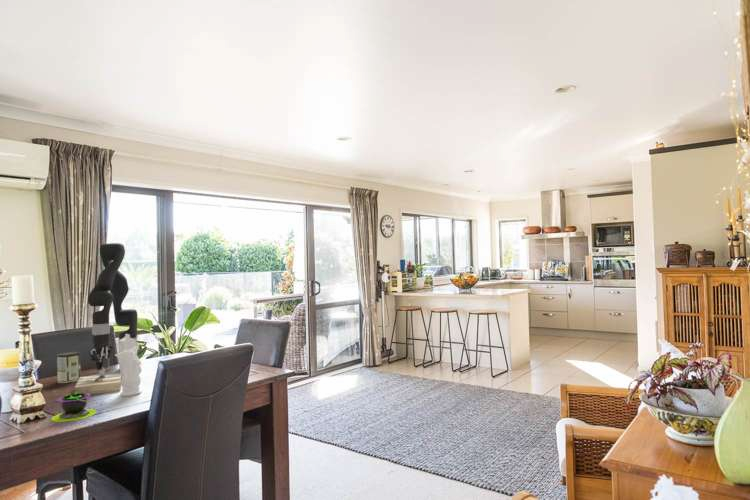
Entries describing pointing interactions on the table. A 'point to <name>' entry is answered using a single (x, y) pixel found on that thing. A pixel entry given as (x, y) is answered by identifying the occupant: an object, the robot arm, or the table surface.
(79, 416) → the toy cauldron
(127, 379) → the cherub figurine
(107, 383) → the dial board
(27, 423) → the table surface
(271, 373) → the table surface
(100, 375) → the lever
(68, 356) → the grey-green carton
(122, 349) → the milk
